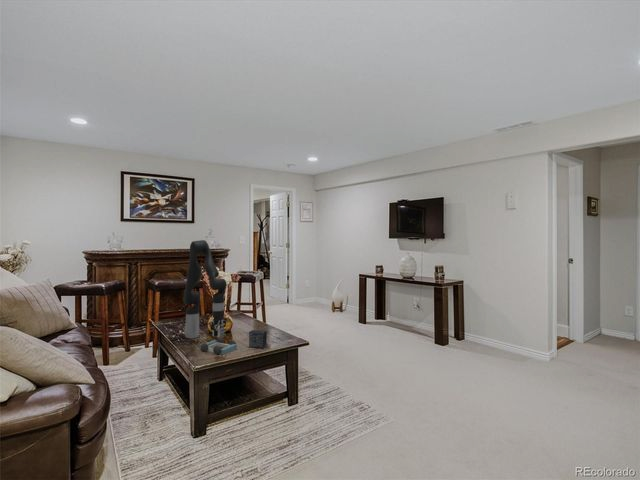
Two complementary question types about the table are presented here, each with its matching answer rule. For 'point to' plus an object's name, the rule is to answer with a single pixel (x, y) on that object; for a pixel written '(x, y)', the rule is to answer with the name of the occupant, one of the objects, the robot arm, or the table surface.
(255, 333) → the small box
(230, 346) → the chassis
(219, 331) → the block
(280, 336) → the table surface
